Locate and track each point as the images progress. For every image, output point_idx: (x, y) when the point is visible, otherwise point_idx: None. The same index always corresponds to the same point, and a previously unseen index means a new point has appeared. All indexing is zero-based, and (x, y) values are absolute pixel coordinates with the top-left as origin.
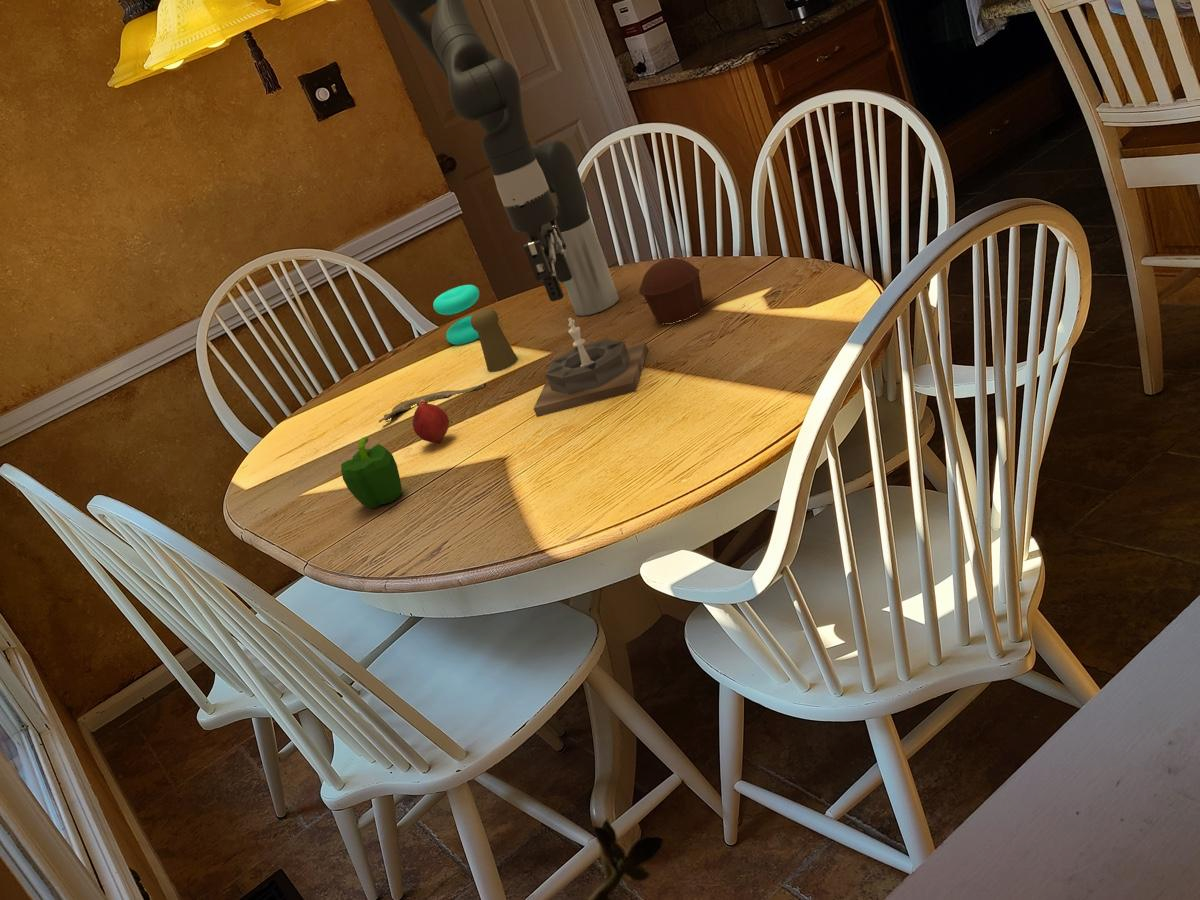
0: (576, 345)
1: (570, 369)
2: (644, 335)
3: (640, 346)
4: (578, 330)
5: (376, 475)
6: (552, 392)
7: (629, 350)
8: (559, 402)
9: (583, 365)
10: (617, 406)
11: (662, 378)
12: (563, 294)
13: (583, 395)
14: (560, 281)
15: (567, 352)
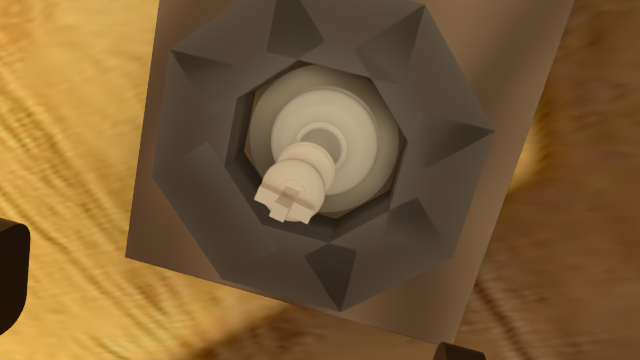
0: (279, 158)
1: (236, 87)
2: (603, 345)
3: (418, 327)
4: (271, 209)
5: None
6: None
7: (419, 291)
8: (160, 6)
9: (305, 135)
10: (70, 183)
11: (170, 324)
12: (5, 325)
13: (147, 98)
14: (439, 346)
15: (463, 86)
